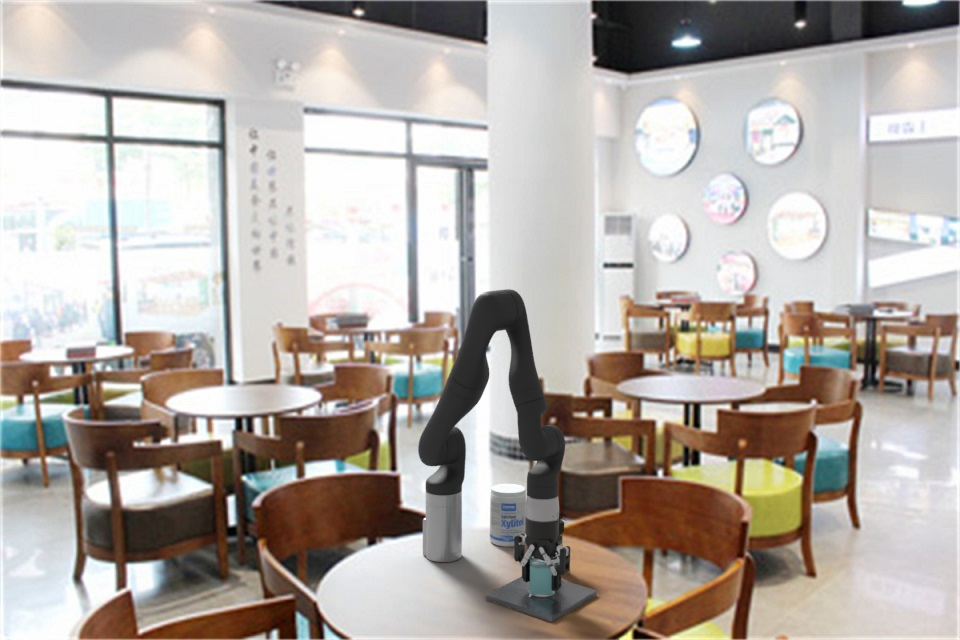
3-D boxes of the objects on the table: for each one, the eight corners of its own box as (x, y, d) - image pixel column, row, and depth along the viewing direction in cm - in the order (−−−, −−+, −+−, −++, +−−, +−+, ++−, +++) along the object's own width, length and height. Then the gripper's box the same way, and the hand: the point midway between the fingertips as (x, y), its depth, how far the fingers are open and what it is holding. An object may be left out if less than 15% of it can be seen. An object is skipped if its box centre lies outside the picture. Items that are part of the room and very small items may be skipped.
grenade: (565, 576, 209) (566, 515, 207) (540, 575, 209) (541, 514, 208) (565, 566, 215) (566, 507, 214) (541, 565, 216) (542, 506, 215)
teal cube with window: (529, 594, 194) (530, 566, 193) (529, 584, 199) (530, 557, 198) (553, 594, 194) (553, 567, 193) (552, 585, 199) (552, 558, 198)
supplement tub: (503, 550, 226) (504, 495, 225) (482, 540, 234) (482, 486, 232) (532, 543, 232) (533, 489, 230) (511, 533, 239) (511, 481, 238)
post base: (485, 599, 195) (485, 572, 195) (532, 575, 209) (532, 550, 208) (551, 622, 184) (552, 593, 183) (596, 595, 198) (597, 568, 197)
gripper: (506, 512, 196) (506, 582, 198) (559, 525, 187) (558, 599, 189) (526, 504, 202) (525, 573, 204) (578, 517, 193) (577, 588, 195)
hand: (541, 585), depth 196 cm, fingers closed on teal cube with window, 7 cm apart
